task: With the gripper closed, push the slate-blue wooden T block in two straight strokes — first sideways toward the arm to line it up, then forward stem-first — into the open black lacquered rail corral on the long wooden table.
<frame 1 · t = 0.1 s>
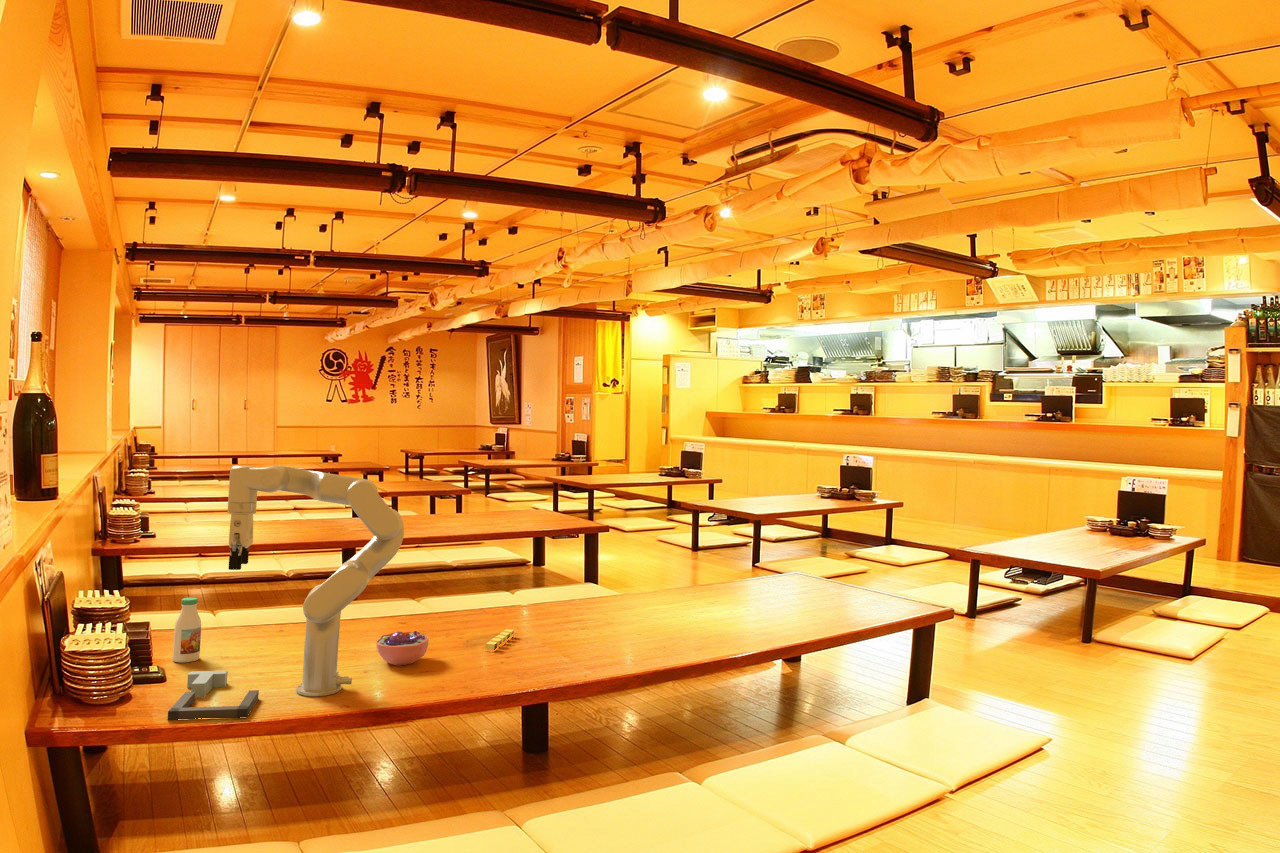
hand: (238, 566, 235), 37 cm above the table, tool pointing down, fingers open, 9 cm apart
cell model: (401, 663, 273), on the table
milk bottle: (186, 660, 264), on the table
yellow segmented bar: (505, 645, 304), on the table
t block: (207, 686, 240), on the table
corral: (214, 709, 221), on the table
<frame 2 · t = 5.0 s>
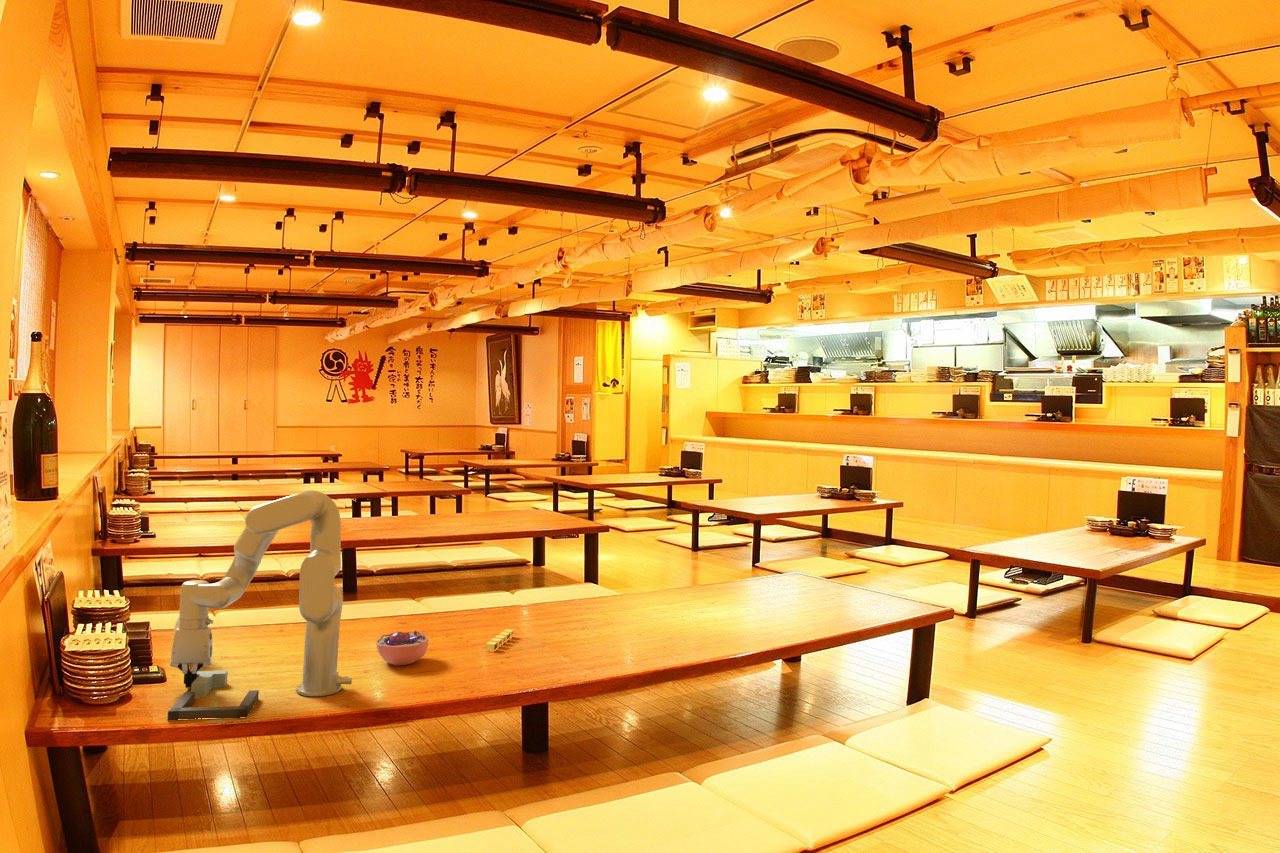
hand: (189, 686, 236), 1 cm above the table, tool pointing down, fingers closed
t block: (207, 686, 240), on the table, touching gripper
everything else where it was.
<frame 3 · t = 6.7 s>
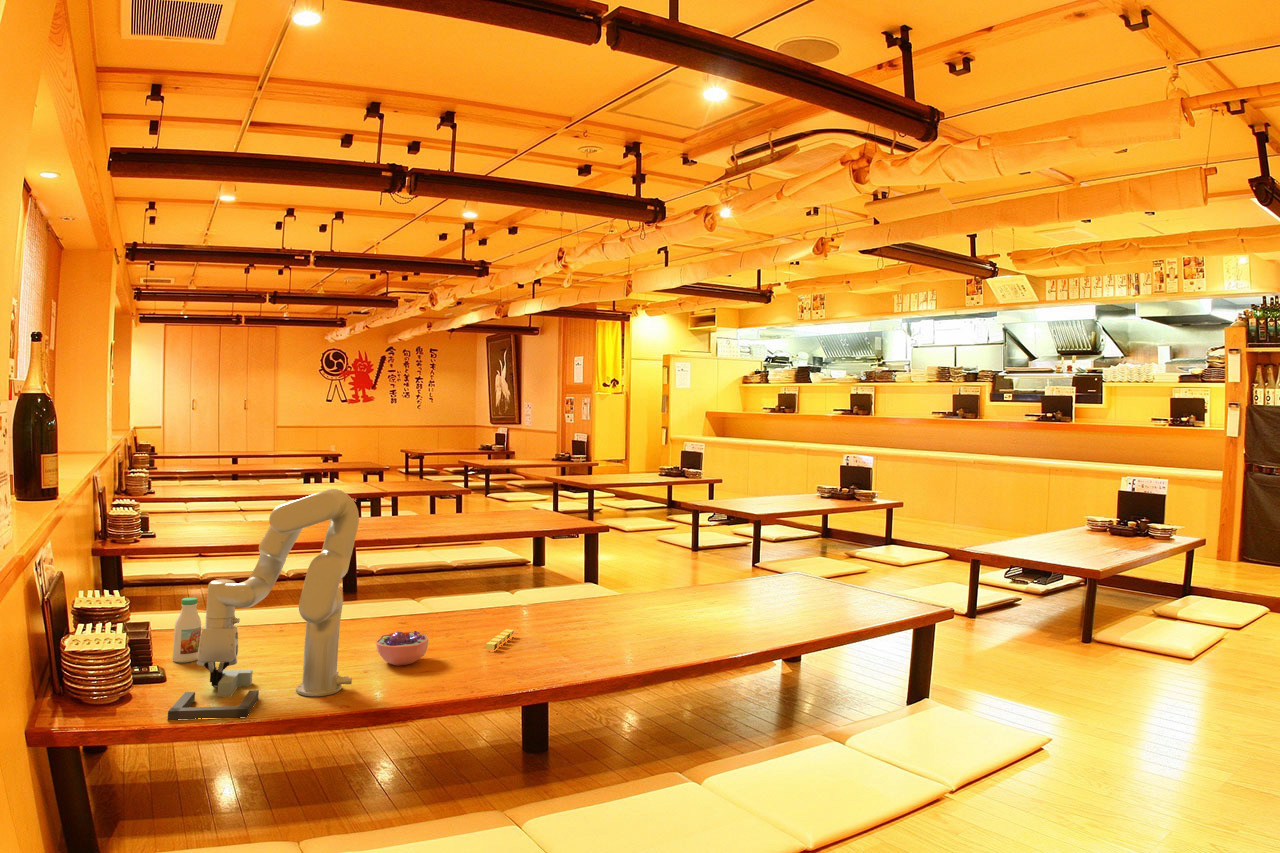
hand: (215, 684, 238), 1 cm above the table, tool pointing down, fingers closed
t block: (232, 685, 242), on the table, touching gripper
everything else where it was.
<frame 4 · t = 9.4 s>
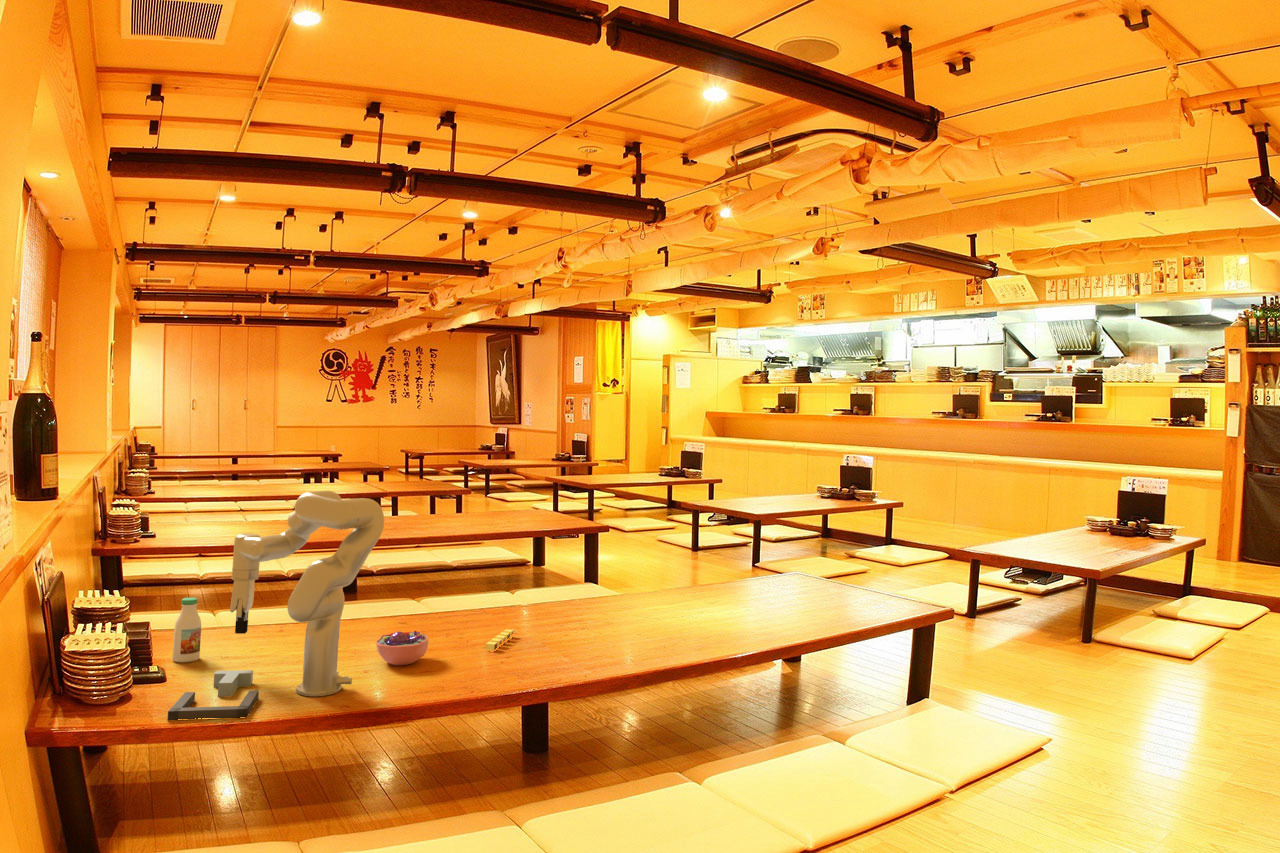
hand: (241, 632, 250), 13 cm above the table, tool pointing down, fingers closed
t block: (233, 685, 242), on the table
everything else where it was.
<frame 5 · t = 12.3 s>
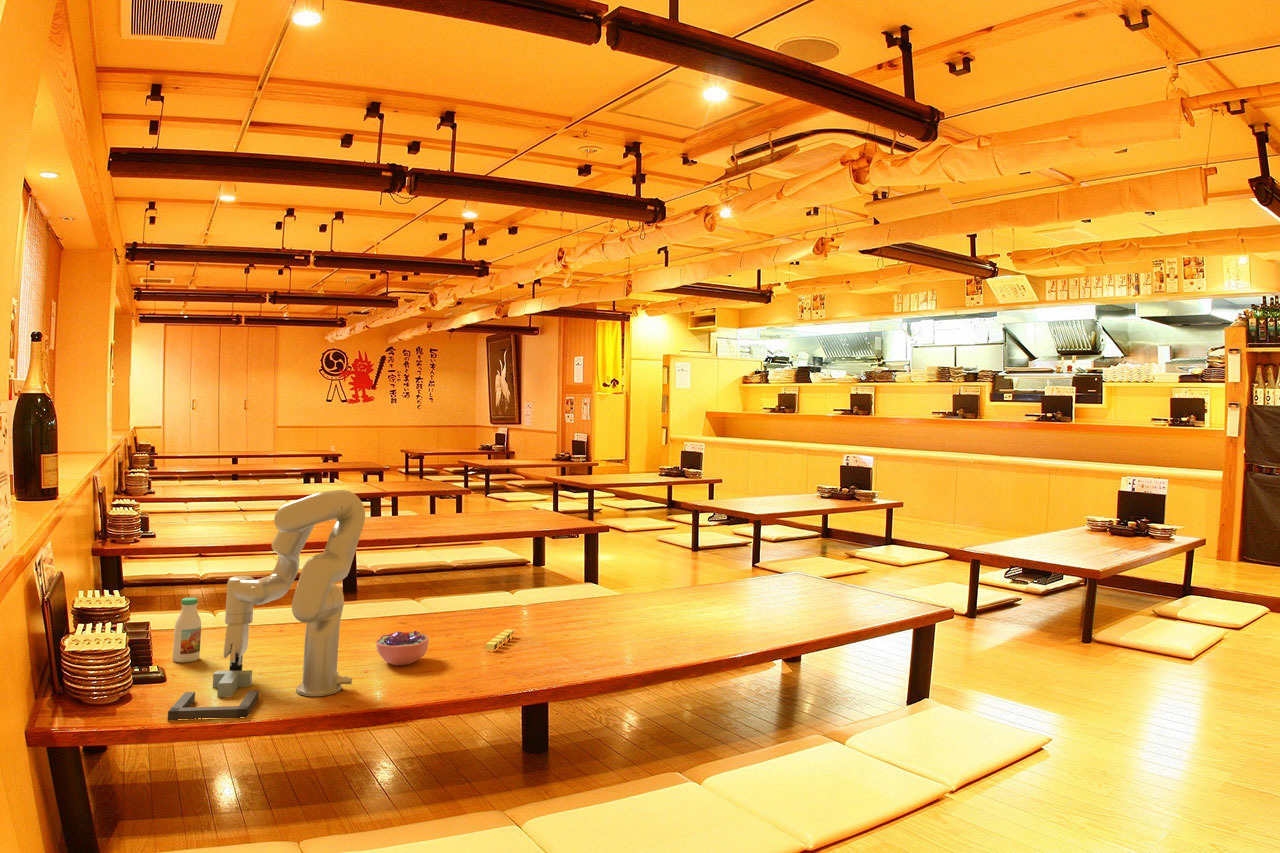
hand: (235, 677, 245), 1 cm above the table, tool pointing down, fingers closed
t block: (232, 685, 241), on the table, touching gripper
everything else where it was.
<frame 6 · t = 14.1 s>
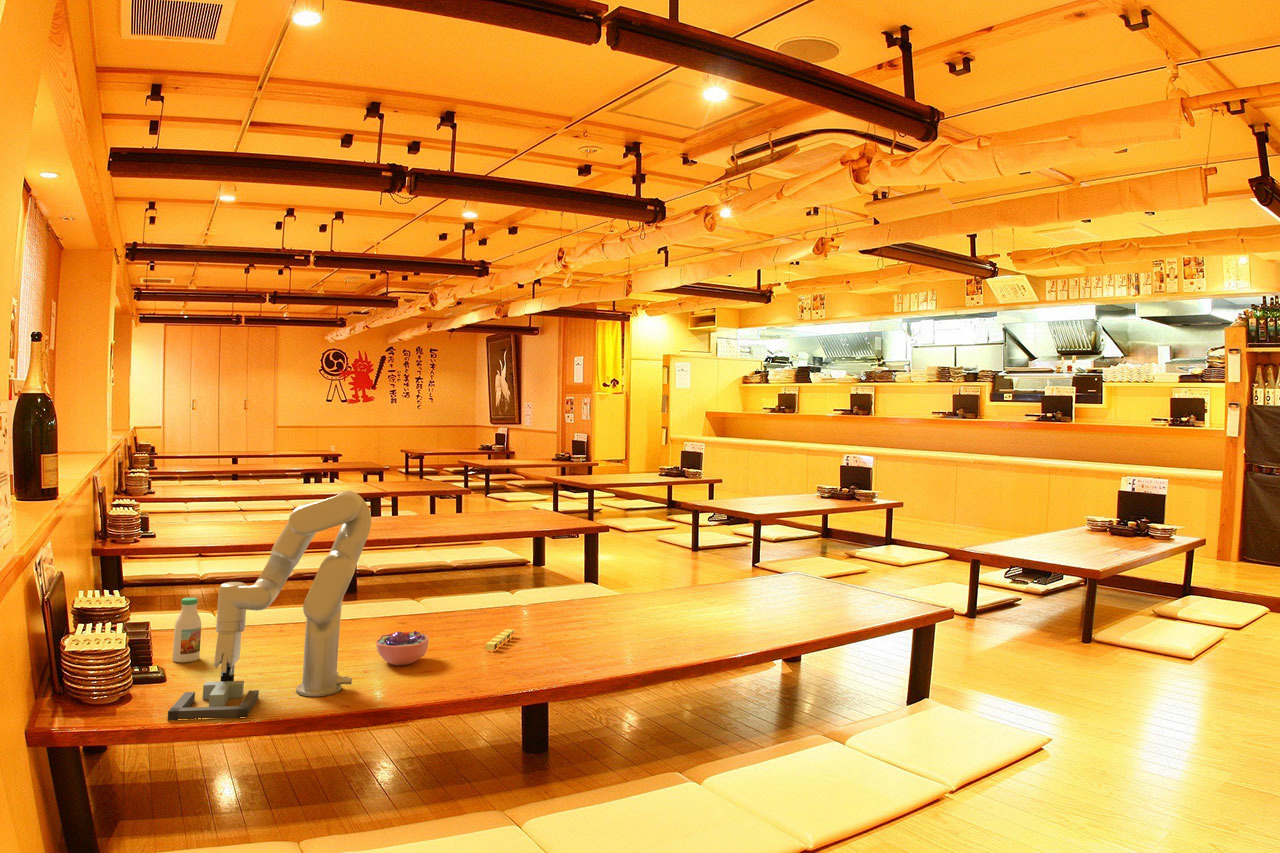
hand: (226, 688, 235), 1 cm above the table, tool pointing down, fingers closed
t block: (223, 696, 231), on the table, touching gripper
everything else where it was.
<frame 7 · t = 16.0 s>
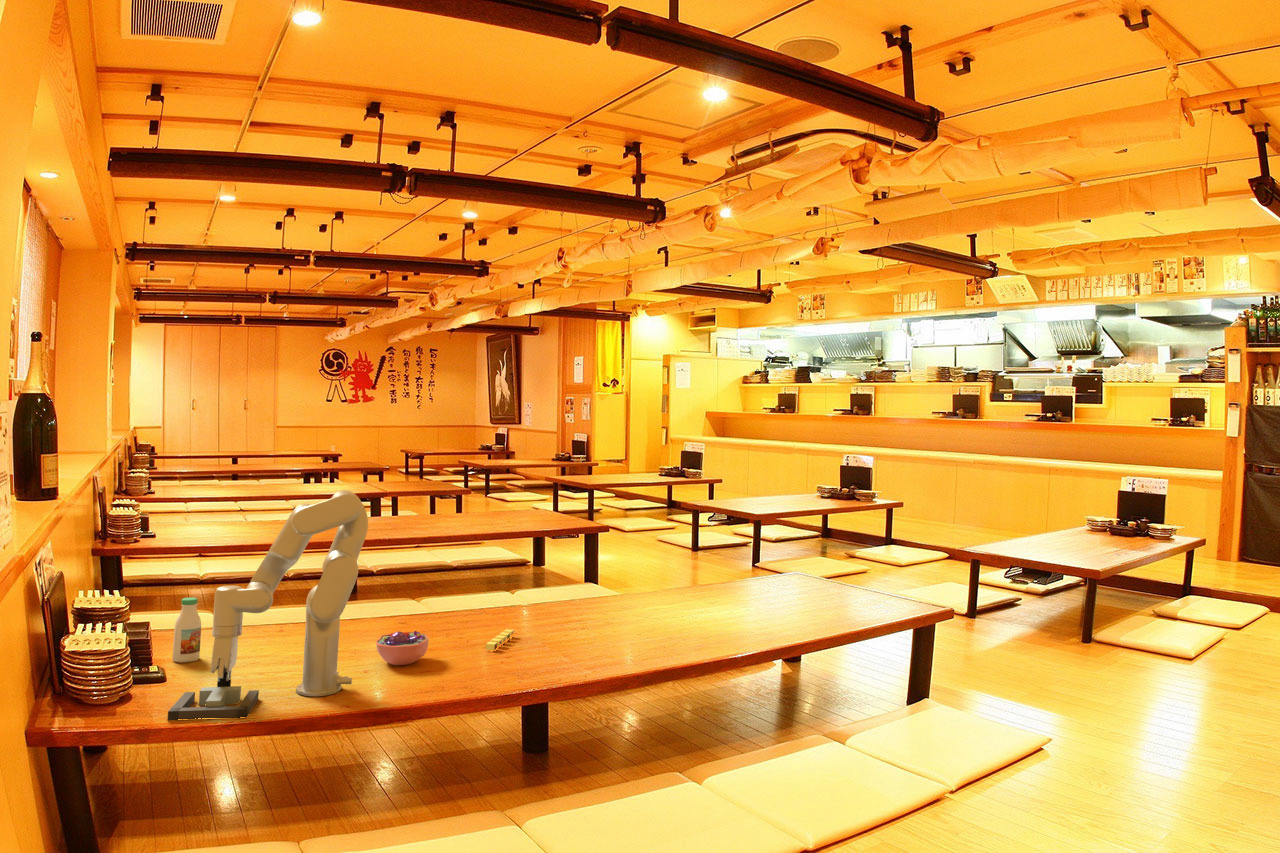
hand: (223, 694, 230), 1 cm above the table, tool pointing down, fingers closed
t block: (219, 702, 227), on the table
everything else where it was.
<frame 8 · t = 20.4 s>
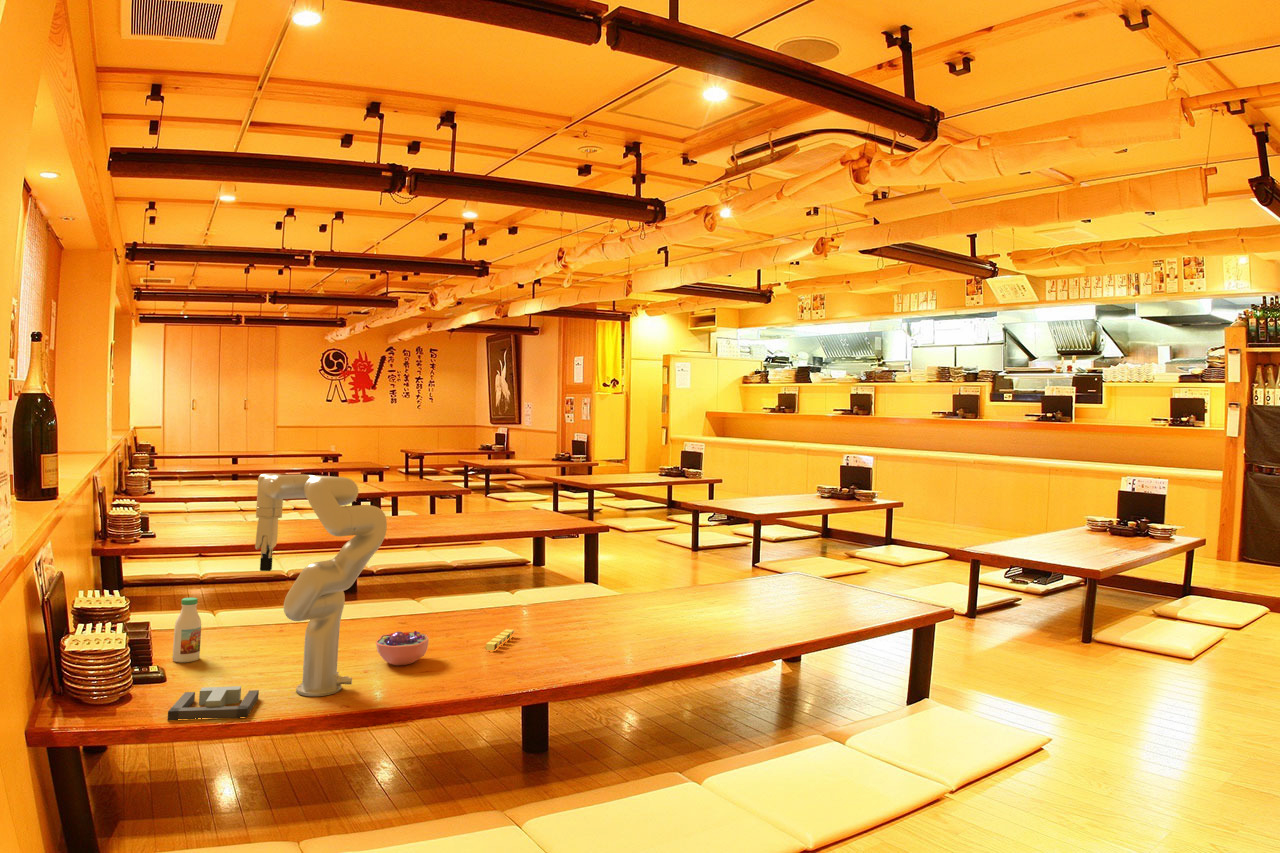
hand: (265, 570, 256), 32 cm above the table, tool pointing down, fingers closed
nothing on the table moved.
at the end: t block 0.3 cm from the target spot, on the table; t block touching table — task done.
